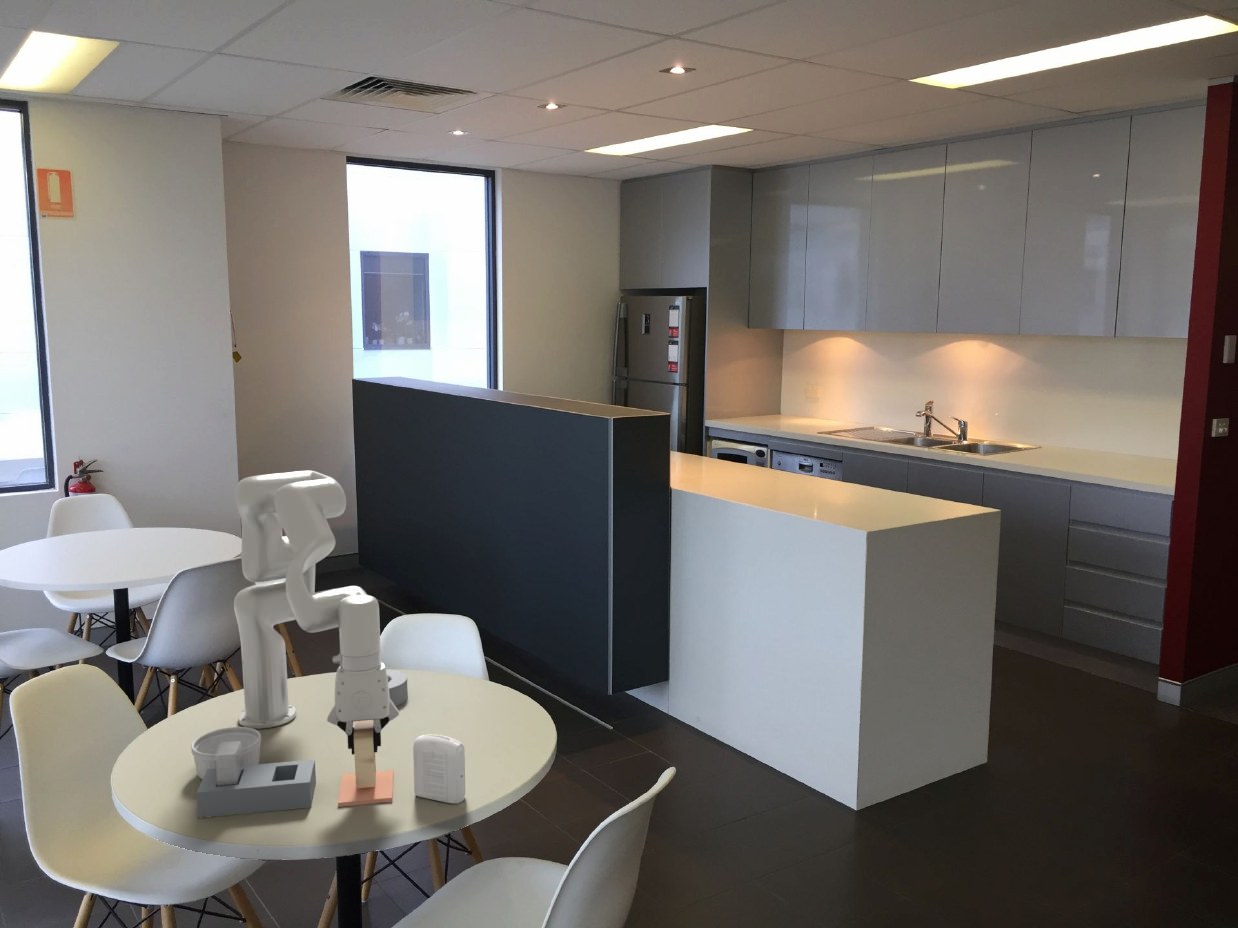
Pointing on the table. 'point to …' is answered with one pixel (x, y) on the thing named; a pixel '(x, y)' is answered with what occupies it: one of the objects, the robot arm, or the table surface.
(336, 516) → the robot arm
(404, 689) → the tape roll
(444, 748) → the photo printer
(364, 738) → the beech plug
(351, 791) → the mat
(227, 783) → the steel plug
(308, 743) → the table surface
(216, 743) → the ramekin
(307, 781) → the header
